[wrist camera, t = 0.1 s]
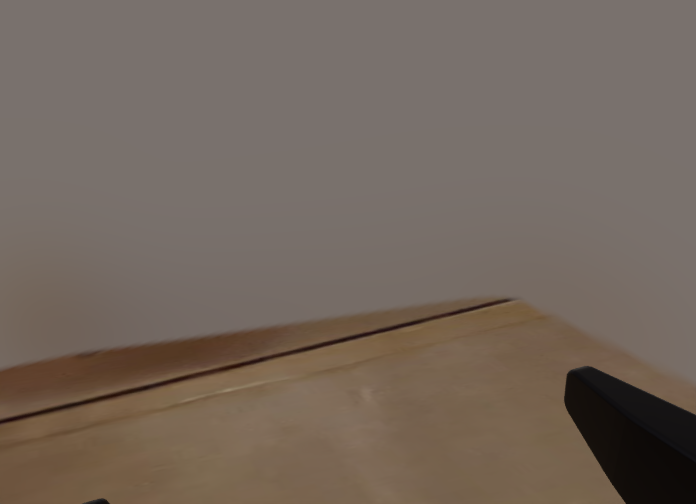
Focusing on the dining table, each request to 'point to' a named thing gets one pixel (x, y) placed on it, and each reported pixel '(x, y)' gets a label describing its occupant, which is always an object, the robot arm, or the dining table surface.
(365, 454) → the dining table surface
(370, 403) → the dining table surface
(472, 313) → the dining table surface
